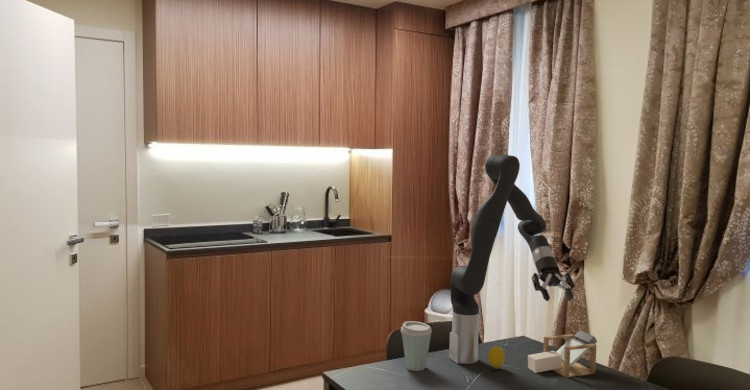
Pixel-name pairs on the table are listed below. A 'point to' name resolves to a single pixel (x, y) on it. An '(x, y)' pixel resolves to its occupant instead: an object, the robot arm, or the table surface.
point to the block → (544, 361)
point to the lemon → (496, 357)
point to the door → (580, 339)
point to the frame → (566, 368)
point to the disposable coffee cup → (416, 344)
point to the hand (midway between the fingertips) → (559, 299)
